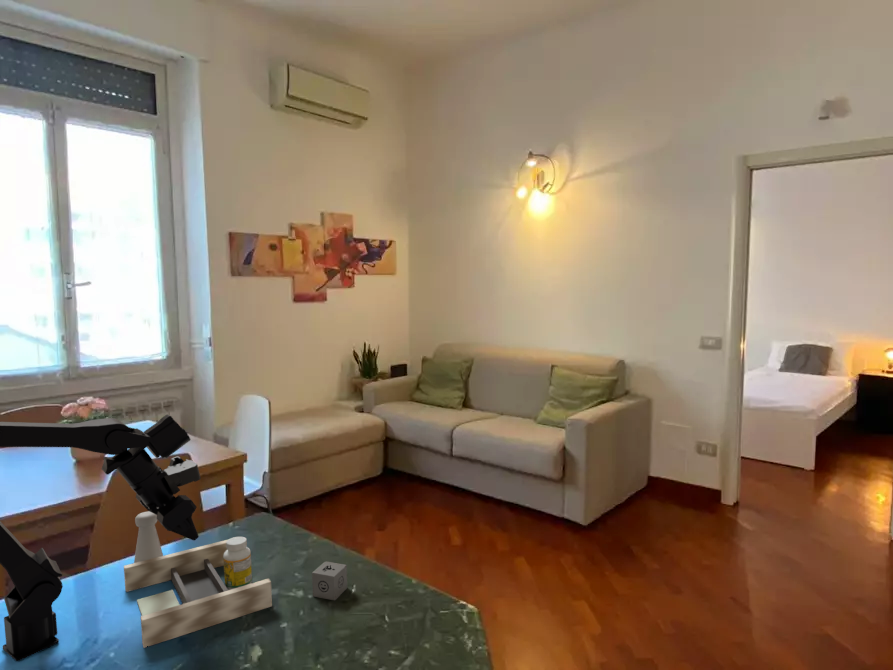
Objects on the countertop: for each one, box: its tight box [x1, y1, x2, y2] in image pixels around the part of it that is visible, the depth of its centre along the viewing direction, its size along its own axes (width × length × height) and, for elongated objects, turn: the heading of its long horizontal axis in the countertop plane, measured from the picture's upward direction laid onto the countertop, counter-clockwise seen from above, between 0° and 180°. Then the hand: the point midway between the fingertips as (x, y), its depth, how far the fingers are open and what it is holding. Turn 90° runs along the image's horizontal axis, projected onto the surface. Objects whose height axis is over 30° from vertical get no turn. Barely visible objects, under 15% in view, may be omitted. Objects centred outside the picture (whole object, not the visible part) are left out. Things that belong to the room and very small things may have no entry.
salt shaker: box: [133, 510, 164, 563], centre depth 130 cm, size 6×6×13 cm
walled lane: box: [123, 539, 273, 649], centre depth 120 cm, size 22×24×5 cm
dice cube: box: [311, 560, 348, 601], centre depth 121 cm, size 5×5×5 cm
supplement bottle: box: [223, 536, 253, 590], centre depth 124 cm, size 5×5×10 cm
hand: (188, 531), depth 121 cm, fingers open, 9 cm apart
